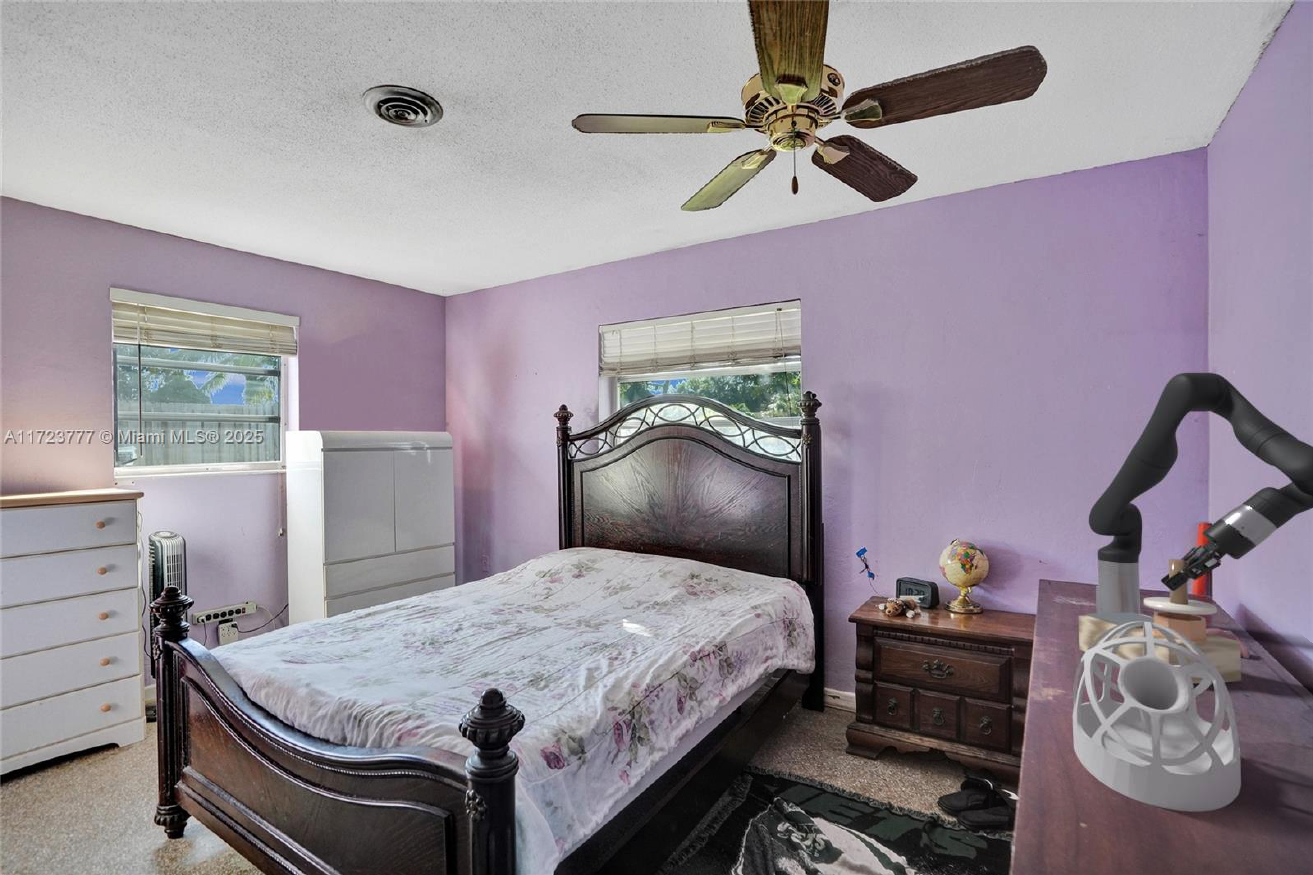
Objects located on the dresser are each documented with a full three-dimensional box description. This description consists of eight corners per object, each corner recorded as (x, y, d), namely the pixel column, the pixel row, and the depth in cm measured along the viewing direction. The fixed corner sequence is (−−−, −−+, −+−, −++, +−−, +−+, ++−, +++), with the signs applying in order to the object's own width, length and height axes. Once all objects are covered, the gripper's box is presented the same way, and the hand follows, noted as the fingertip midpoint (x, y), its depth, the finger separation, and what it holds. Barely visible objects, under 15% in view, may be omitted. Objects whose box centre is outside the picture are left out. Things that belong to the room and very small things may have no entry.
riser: (1079, 649, 154) (1078, 615, 154) (1141, 647, 155) (1140, 613, 155) (1169, 684, 130) (1168, 644, 130) (1241, 681, 131) (1240, 641, 132)
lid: (1129, 602, 142) (1128, 556, 142) (1179, 601, 143) (1177, 555, 143) (1179, 615, 130) (1177, 565, 130) (1233, 613, 131) (1231, 564, 131)
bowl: (1144, 630, 140) (1143, 612, 140) (1179, 629, 141) (1179, 611, 141) (1179, 641, 132) (1179, 622, 132) (1217, 640, 132) (1216, 620, 133)
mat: (1086, 615, 154) (1086, 613, 154) (1132, 614, 155) (1132, 612, 155) (1128, 628, 142) (1128, 626, 142) (1177, 626, 143) (1177, 625, 143)
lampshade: (1075, 721, 112) (1229, 752, 100) (1067, 785, 90) (1262, 832, 78) (1073, 603, 112) (1225, 619, 101) (1063, 637, 91) (1256, 663, 79)
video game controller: (1239, 661, 149) (1227, 630, 153) (1254, 657, 145) (1241, 626, 149) (1194, 660, 150) (1183, 629, 154) (1207, 656, 146) (1196, 625, 150)
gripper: (1212, 515, 140) (1144, 567, 145) (1231, 520, 127) (1156, 577, 133) (1246, 541, 137) (1175, 593, 142) (1268, 549, 125) (1190, 606, 130)
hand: (1166, 585), depth 138 cm, fingers closed on lid, 3 cm apart
